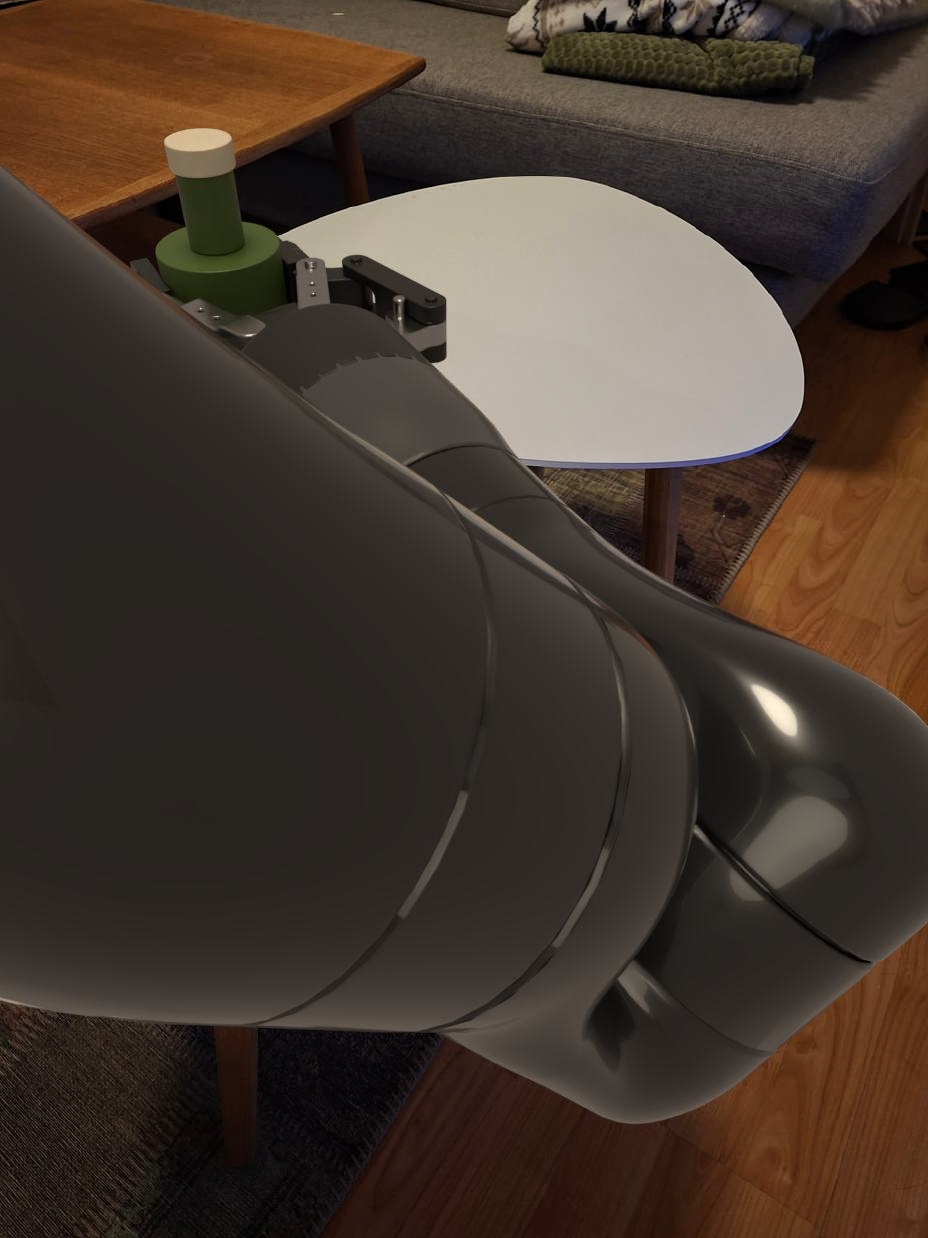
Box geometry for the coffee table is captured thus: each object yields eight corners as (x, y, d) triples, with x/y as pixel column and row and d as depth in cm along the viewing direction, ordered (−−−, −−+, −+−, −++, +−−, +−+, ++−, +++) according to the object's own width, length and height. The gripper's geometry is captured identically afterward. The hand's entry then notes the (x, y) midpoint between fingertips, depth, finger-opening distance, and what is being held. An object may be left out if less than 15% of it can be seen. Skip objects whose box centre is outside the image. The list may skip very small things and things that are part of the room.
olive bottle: (220, 474, 40) (151, 171, 31) (186, 420, 43) (113, 129, 34) (321, 443, 42) (285, 147, 33) (282, 393, 45) (238, 110, 36)
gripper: (564, 309, 29) (345, 149, 39) (123, 431, 24) (5, 210, 34) (546, 493, 34) (358, 310, 44) (184, 624, 29) (66, 384, 39)
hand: (206, 268), depth 39 cm, fingers closed on olive bottle, 5 cm apart
